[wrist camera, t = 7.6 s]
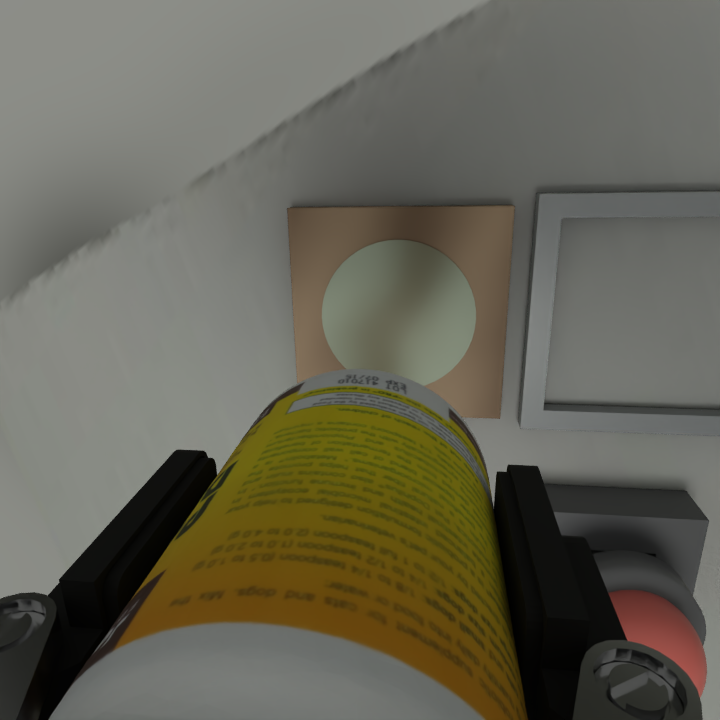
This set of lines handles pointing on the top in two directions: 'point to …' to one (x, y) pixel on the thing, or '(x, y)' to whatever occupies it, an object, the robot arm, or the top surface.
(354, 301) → the pad
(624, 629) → the dome cap
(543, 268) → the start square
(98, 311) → the top surface
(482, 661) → the supplement bottle
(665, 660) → the robot arm
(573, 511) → the dome housing
